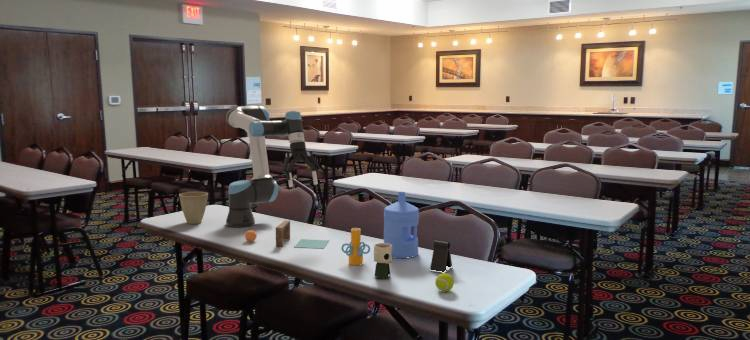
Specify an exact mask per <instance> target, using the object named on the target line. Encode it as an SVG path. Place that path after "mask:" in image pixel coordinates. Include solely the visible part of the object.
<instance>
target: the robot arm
mask: <svg viewBox="0 0 750 340" xmlns="http://www.w3.org/2000/svg"><path fill="white" fill-rule="evenodd" d="M301 114H302V113H301V112H300V111H299V110H289V111H287V112H285V115H284V116H285V119H283V120H270V114H269V111H268V110H267V108H266V107H265V106H262V105H238V106H233V107H232V108H230V109H229V110H227V112H226V116H225V119H226V122H227V124H228V125H229V126H230V127H232V128H236V129H239V128H240V129H242V130H244V131H245V132H246V133H247V134H248V141H249V148H250V156H251V165H252V172H253V173H252V174H253V177H252V178H251V180H249V179H244V180H237V181H233V182H231V183H229V185H228V192H227V193H228V213H227V216H226V220H225V225H226V226H227V227H230V228H247V227H251V225H252V226H254V225H255V224H256V223H255V222H256V221H255V217H254V214H253V211H252V205H255V204H263V203H264V204H265V203H267V204H268V203H270V202H271V203H272V202H274V201H275V200H276V199H277V197H278V192H279V187H278V186H279V185H278V183H277V181H276V180H274V178H273V176H272V175H270V169H269V168H270V167H269V161H268V153H267V145H266V137H279V138H286V137H288V143H289V150H290V152H286V153H285V154H284V162H283V164H282V168H281V170H280V171H281V174H284V175H285V178H286V181H288V187H289V188H292V187H294V183H293V176H292V172H291V170H292V169H293V167H294V165H295V164H296V163H299V162H301V163H302V162H304V163H305V164H306V165H307V166H308V167H309V168H310V170H312V171H311V175H312V181H313V185H314V186H315V185H318V184H319V183H318V177H319V174H318V170H320V169H321V166H320V165H319V163H318V161H317V160H316V158H315V156H314V154H313V153H314V152H313V151H311V150H310V151H307V147H306V146H307V145H306V142H305V134H304V128H303V119H302V115H301ZM291 158H292V159H291ZM290 159H291V160H290ZM289 161H290V163H289ZM253 224H254V225H253ZM246 226H247V227H246Z"/></svg>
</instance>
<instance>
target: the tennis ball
mask: <svg viewBox="0 0 750 340" xmlns="http://www.w3.org/2000/svg"><path fill="white" fill-rule="evenodd" d="M434 283H435V286H436V288H437V289H438V290H439V291H440V290H441V291H440V292H443V291H447V292H449V291H452V289H453V287H454V284H455V282H454V278H453V277H452V275H450V274H449V273H447V272H446V273H439V274H438V275H437V276H436V278H435V282H434Z"/></svg>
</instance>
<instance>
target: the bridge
mask: <svg viewBox="0 0 750 340" xmlns="http://www.w3.org/2000/svg"><path fill="white" fill-rule="evenodd" d="M290 240H291V220H283V221H282V222H280V224H278V225H277V226H276V227H275V247H276V248H283V247H284V241H290Z"/></svg>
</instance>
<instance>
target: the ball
mask: <svg viewBox="0 0 750 340" xmlns="http://www.w3.org/2000/svg"><path fill="white" fill-rule="evenodd" d="M257 237H258V236H257V233H256V231H254V230H252V229H251V230H247V231H246V232H245V233H244V238H245V240H246V242H249V243H252V242H255V240H256V239H257Z"/></svg>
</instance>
